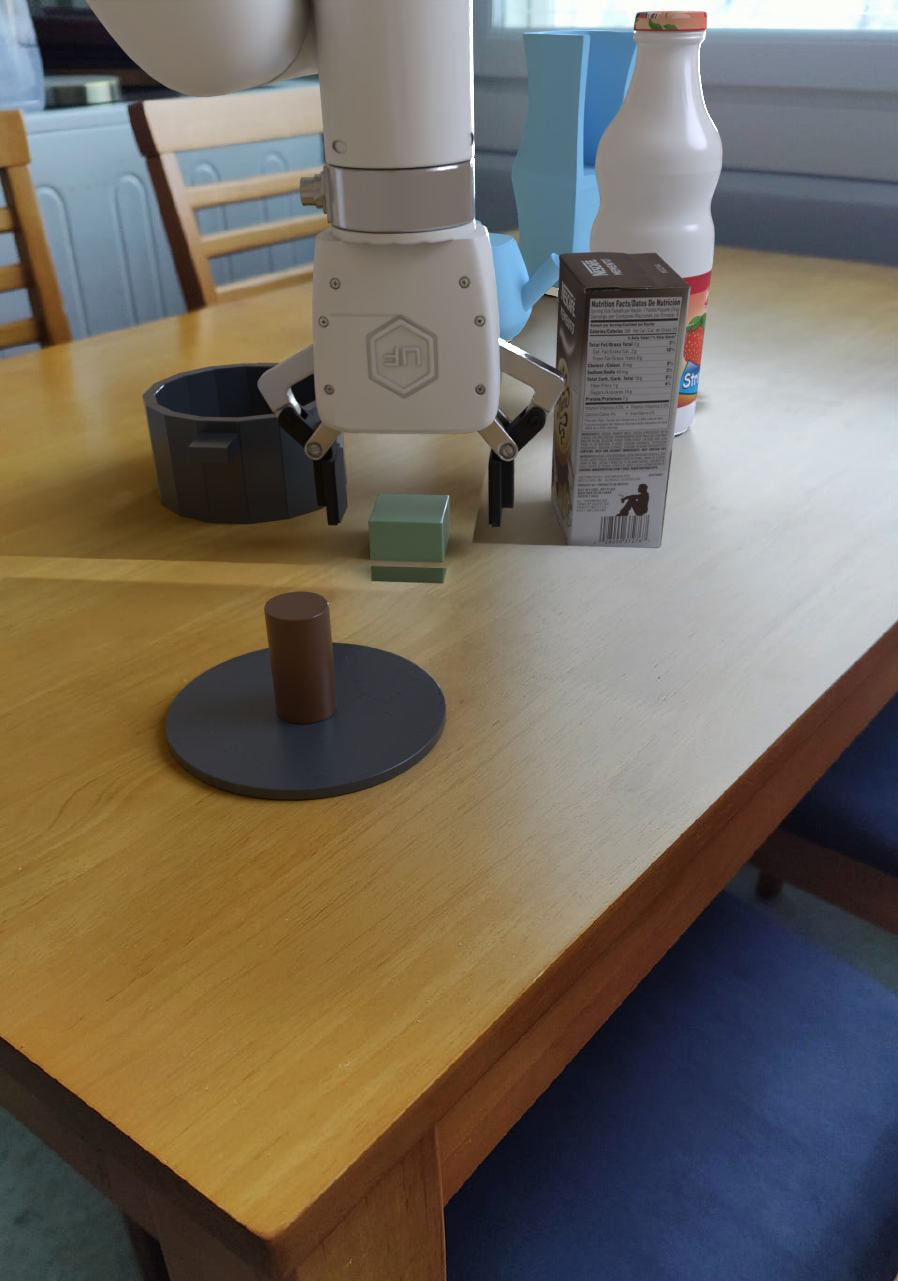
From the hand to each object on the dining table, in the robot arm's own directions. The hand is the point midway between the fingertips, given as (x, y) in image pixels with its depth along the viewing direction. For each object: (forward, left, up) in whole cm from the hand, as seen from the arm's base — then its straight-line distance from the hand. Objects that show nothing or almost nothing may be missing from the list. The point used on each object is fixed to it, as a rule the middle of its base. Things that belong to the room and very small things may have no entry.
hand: (416, 518), depth 68 cm
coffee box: (+12, +9, -4) cm, 15 cm away
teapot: (-1, +53, -4) cm, 53 cm away
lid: (-3, -18, -3) cm, 19 cm away
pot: (-12, +9, -4) cm, 16 cm away
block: (0, 0, -4) cm, 4 cm away
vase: (+9, +80, -4) cm, 81 cm away
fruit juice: (+15, +30, -4) cm, 34 cm away
